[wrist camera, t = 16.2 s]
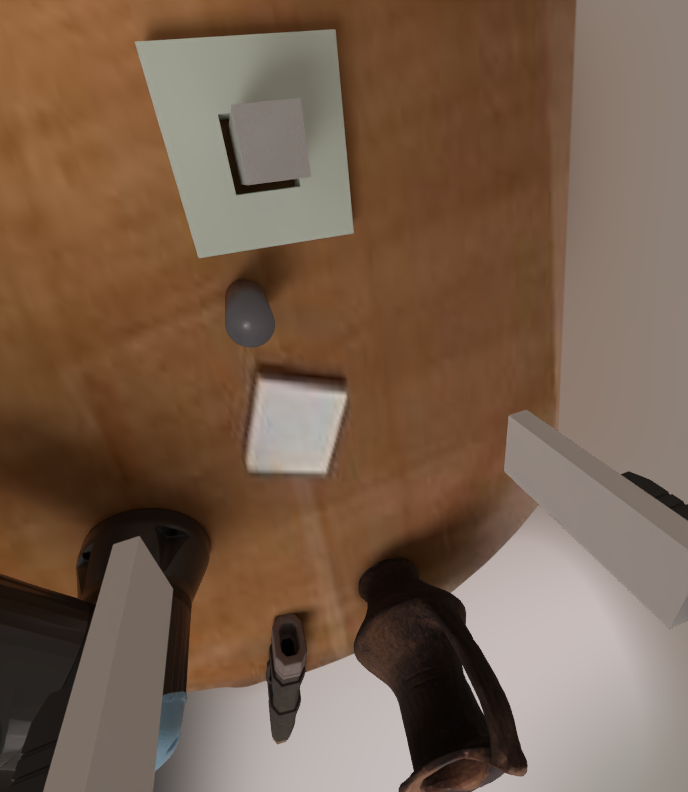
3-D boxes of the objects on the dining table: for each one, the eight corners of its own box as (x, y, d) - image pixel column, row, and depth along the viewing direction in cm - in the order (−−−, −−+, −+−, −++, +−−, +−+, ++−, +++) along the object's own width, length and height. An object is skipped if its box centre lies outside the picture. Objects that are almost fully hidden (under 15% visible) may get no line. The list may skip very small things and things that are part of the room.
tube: (254, 691, 79) (259, 621, 62) (284, 675, 82) (297, 604, 65) (271, 755, 71) (283, 694, 55) (304, 734, 75) (325, 671, 58)
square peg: (240, 184, 33) (247, 185, 23) (228, 129, 31) (231, 104, 21) (285, 178, 34) (311, 177, 24) (276, 124, 32) (300, 98, 22)
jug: (415, 607, 75) (513, 823, 50) (327, 617, 68) (387, 871, 43) (455, 529, 66) (598, 743, 41) (358, 532, 60) (457, 788, 34)
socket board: (200, 252, 35) (198, 258, 33) (142, 54, 28) (134, 41, 25) (345, 229, 38) (353, 233, 35) (326, 41, 30) (335, 29, 28)
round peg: (231, 322, 39) (232, 351, 32) (220, 283, 37) (219, 305, 30) (269, 315, 40) (279, 342, 33) (261, 276, 38) (269, 296, 31)
